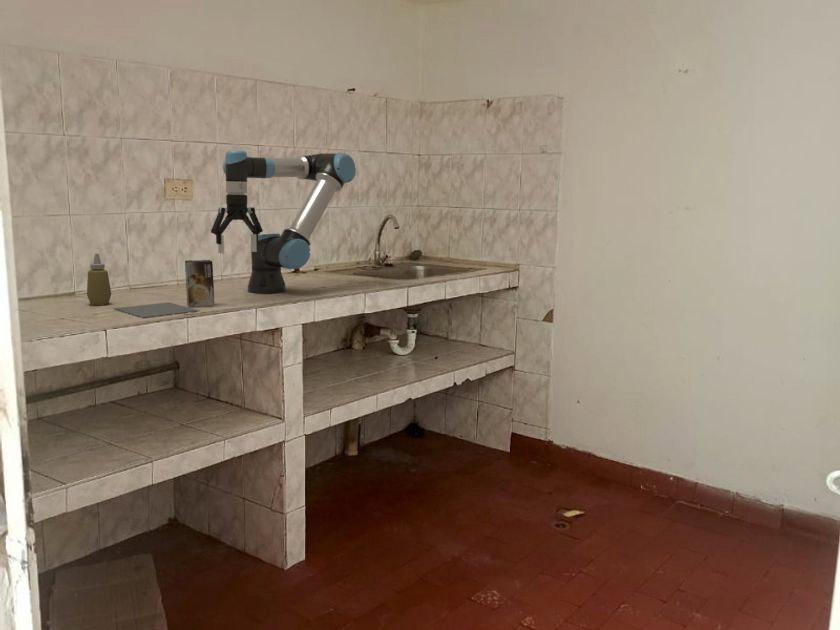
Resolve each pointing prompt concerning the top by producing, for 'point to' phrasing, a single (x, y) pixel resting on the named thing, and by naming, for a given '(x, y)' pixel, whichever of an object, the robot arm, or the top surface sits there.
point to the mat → (156, 309)
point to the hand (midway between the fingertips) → (237, 252)
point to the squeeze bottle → (98, 283)
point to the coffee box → (199, 283)
